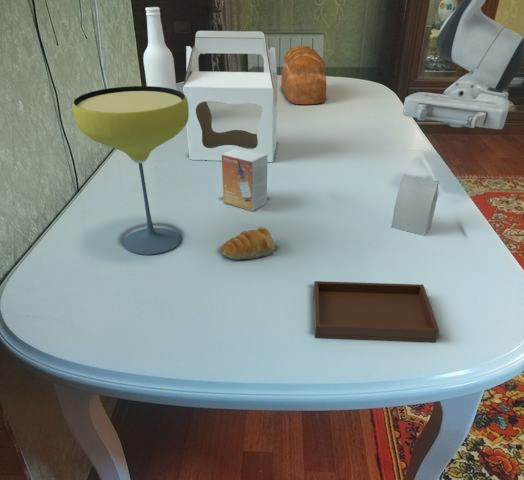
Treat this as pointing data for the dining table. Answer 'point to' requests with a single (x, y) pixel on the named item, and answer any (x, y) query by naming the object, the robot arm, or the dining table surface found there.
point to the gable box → (230, 95)
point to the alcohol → (158, 54)
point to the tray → (373, 312)
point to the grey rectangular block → (415, 204)
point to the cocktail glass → (135, 139)
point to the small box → (244, 178)
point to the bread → (303, 76)
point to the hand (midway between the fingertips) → (445, 119)
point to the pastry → (249, 245)
